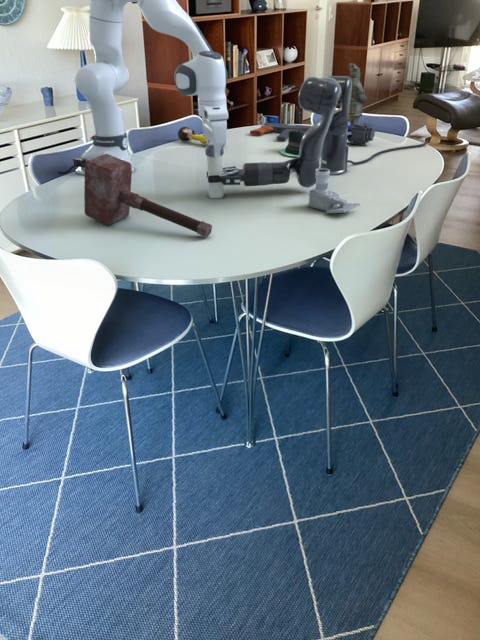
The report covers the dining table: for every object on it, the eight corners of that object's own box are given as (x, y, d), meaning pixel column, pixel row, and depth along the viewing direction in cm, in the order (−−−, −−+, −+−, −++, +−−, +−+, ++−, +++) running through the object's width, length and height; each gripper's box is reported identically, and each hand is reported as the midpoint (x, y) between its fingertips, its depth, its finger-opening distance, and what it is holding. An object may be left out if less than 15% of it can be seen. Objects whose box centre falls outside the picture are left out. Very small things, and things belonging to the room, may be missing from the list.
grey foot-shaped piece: (322, 165, 173) (363, 174, 165) (319, 201, 179) (359, 212, 171) (305, 171, 168) (347, 180, 159) (303, 208, 174) (344, 219, 165)
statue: (367, 132, 266) (374, 63, 251) (349, 133, 264) (355, 64, 249) (357, 127, 275) (362, 61, 260) (339, 129, 273) (344, 62, 258)
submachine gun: (243, 132, 260) (267, 122, 278) (243, 138, 261) (267, 127, 280) (305, 138, 246) (326, 127, 265) (305, 144, 248) (326, 133, 266)
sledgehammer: (221, 197, 152) (105, 152, 164) (203, 207, 145) (83, 159, 156) (213, 251, 162) (103, 205, 174) (195, 264, 155) (82, 215, 166)
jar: (205, 196, 187) (203, 149, 179) (216, 192, 190) (214, 146, 182) (216, 199, 184) (214, 151, 176) (226, 195, 187) (225, 148, 179)
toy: (345, 120, 249) (377, 123, 242) (343, 139, 253) (375, 143, 246) (337, 123, 243) (369, 127, 236) (336, 143, 247) (367, 147, 240)
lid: (209, 157, 177) (208, 149, 176) (203, 153, 182) (202, 146, 180) (226, 155, 179) (225, 147, 177) (219, 151, 183) (219, 144, 182)
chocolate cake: (332, 145, 241) (326, 158, 224) (294, 164, 249) (286, 177, 233) (317, 113, 235) (310, 124, 219) (279, 133, 244) (269, 145, 228)
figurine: (211, 139, 238) (170, 125, 250) (210, 157, 242) (170, 142, 255) (230, 134, 247) (190, 120, 259) (229, 150, 251) (189, 136, 263)
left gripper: (196, 104, 181) (199, 147, 188) (209, 115, 164) (211, 162, 171) (215, 103, 182) (217, 146, 189) (229, 114, 165) (231, 160, 172)
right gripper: (255, 157, 189) (205, 160, 188) (261, 168, 177) (208, 171, 175) (255, 179, 193) (206, 182, 192) (261, 191, 181) (209, 194, 179)
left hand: (214, 154), depth 180 cm, fingers open, 7 cm apart
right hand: (207, 177), depth 183 cm, fingers closed on jar, 5 cm apart
